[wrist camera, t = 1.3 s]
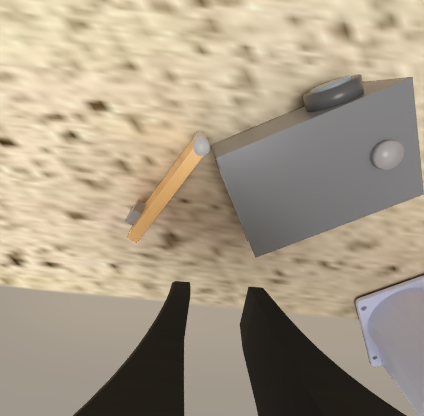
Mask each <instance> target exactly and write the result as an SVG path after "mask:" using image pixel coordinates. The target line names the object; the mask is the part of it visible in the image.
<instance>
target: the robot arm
mask: <svg viewBox="0 0 424 416" xmlns="http://www.w3.org/2000/svg"><path fill="white" fill-rule="evenodd" d="M189 300H190V282H179V281H175V282H173V283H172V286H171V289H170V292H169V295H168V297H167V299H166V301H165V303H164V306H163V307H162V309H161V311H160V313H159V314H158V316H157V318H156V320H155V321H154V323H153V324H152V326H151V327H150V329H149V331H148V332H147V334H146V335H145V337H144V338H143V339H142V341H141V342H140V343H139V345H138V346H137V347H136V349H135V350H134V351H133V353H132V354H131V355H130V356H129V358H128V359H127V360H126V361H125V363H124V364H123V365H122V366H121V367H120V368H119V370H118V371H117V372H116V373H115V374H114V375H113V376H112V377H111V378H110V380H109V381H108V382H107V383H106V384H105V385H104V386H103V387H102V388H101V389H100V390H99V391H98V392H97V393H96V394H95V395H94V396H93V397H92V398H91V399H90V400H89V401H88V402H87V403H86V404H85V405H84V406H83V407H82V408H81V409H80V410H79V411H78V412H76V413H75V414H74V415H73V416H184V336H185V328H186V321H187V314H188V307H189ZM355 304H356V308H357V312H358V316H359V320H360V324H361V329H362V332H363V337H364V341H365V345H366V349H367V353H368V357H369V361H370V364H371V365H372V366H373V367H378V366H381V365H383V366H384V368H385V369H386V370H387V372H388V373H389V375H390V376H391V377H392V379H393V380H394V382H395V383H396V384H397V386H398V387H399V388H400V390H401V391H402V393H403V394H404V396H405V397H406V398H407V400H408V401H409V403H410V404H411V405H412V407H413V408H414V410H415V411H416V412H417V414H418V415H419V416H424V275H423V276H420V277H417V278H414V279H412V280H409V281H406V282H403V283H400V284H397V285H395V286H392V287H389V288H386V289H383V290H380V291H378V292H375V293H372V294H369V295H366V296H363V297H360V298H358V299H357V300H356V302H355ZM240 329H241V338H242V347H243V352H244V356H245V361H246V365H247V369H248V373H249V377H250V382H251V386H252V390H253V394H254V398H255V403H256V407H257V411H258V416H406V415H404V414H403V413H401V412H400V411H398V410H397V409H395V408H394V407H392V406H391V405H390V404H388V403H386V402H385V401H384V400H382V399H381V398H379V397H378V396H376V395H375V394H374V393H372V392H371V391H369V390H368V389H367V388H365V387H364V386H363V385H362V384H360V383H359V382H358V381H356V380H355V379H354V378H352V377H351V376H350V375H348V374H347V373H346V372H345V371H344V370H342V369H341V368H340V367H338V366H337V365H336V364H335V363H334V362H333V361H332V360H331V359H329V358H328V357H327V356H326V355H325V354H324V353H323V352H322V351H320V350H319V349H318V348H317V347H316V346H315V345H314V344H313V343H312V342H311V341H310V340H309V339H308V338H307V337H306V336H305V335H304V334H303V333H302V332H301V331H300V330H299V329H298V328H297V327H296V326H295V324H294V323H293V322H292V321H291V320H290V319H289V318H288V317H287V316H286V314H285V313H284V312H283V311H282V310H281V309H280V307H279V306H278V305H277V304H276V303H275V302H274V300H273V299H272V298H271V297H270V296H269V295H268V293H267V292H266V291H265V290H264V289H263V288H257V287H249V288H248V292H247V296H246V300H245V305H244V309H243V313H242V318H241V322H240Z"/></svg>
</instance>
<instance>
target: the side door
mask: <svg viewBox="0 0 424 416" xmlns="http://www.w3.org/2000/svg"><path fill="white" fill-rule="evenodd" d="M209 151H210V145H209V143H208V140H207V137H206V135H205V133H204V132H202V131H198V132H196V133H195V134H194V136H193V139H192V141H191V142H190V143H189V145H188V146H187V147H186V149H185V150H184V151H183V153H182V154H181V156H180V157H179V158H178V160H177V161H176V162H175V164H174V165H173V166H172V168H171V169H170V170H169V172H168V173H167V174H166V176H165V177H164V179H163V180H162V181H161V183H160V184H159V185H158V187H157V188H156V189H155V191H154V192H153V193H152V195H151V196H150V197H149V199H148V200H147V202H146V203H143V202H142V201H140V200H138V201H137V202H136V204H135V205H134V207H133V208H132V209H131V211H130V213H129V214H128V216H127V218H126V220H125V221H126V222H128V223H129V224H131V225H132V227H131V229H130V231H129V234H128V236H127V238H129V239H131V240H132V241H134V242H136V243H137V242H138V241H139V239H140V238H141V237H142V235H143V234H144V233H145V231H146V230H147V229H148V228H149V226H150V225H151V224H152V222H153V221H154V220H155V218H156V217H157V216H158V214H159V213H160V212H161V211H162V209H163V208H164V207H165V205H166V204H167V203H168V201H169V200H170V199H171V198H172V196H173V195H174V194H175V192H176V191H177V190H178V188H179V187H180V186H181V184H182V183H183V182H184V181H185V179H186V178H187V177H188V175H189V174H190V173H191V171H192V170H193V169H194V168H195V166H196V165H197V164H198V162H199V161H200V160H201V158H202V157H203V156H205V155H207V154H208V153H209Z"/></svg>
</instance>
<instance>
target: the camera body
mask: <svg viewBox="0 0 424 416" xmlns="http://www.w3.org/2000/svg"><path fill="white" fill-rule="evenodd" d="M303 100H304V104H305V106H304V107H301V108H299V109H297V110H294V111H292V112H289V113H287V114H285V115H282V116H280V117H277V118H275V119H273V120H270V121H268V122H265V123H263V124H261V125H258V126H256V127H253V128H251V129H249V130H246V131H244V132H241V133H239V134H237V135H234V136H232V137H230V138H227V139H225V140H222V141H220V142H218V143H215V144H213V145H211V147H212V149H213V152H214V154H215V157H216V159H217V160H216V163H217V166H218V168H219V171H220V173H221V176H222V178H223V181H224V183H225V186H226V188H227V191H228V193H229V196H230V198H231V201H232V203H233V206H234V208H235V211H236V213H237V216H238V218H239V221H240V223H241V226H242V228H243V231H244V233H245V236H246V238H247V241H248V240H249V242H250V245H251V247H252V250H253V252H254V255H255V257H259V256H261V255H264V254H266V253H269V252H272V251H274V250H277V249H280V248H282V247H285V246H288V245H290V244H293V243H296V242H298V241H301V240H304V239H306V238H309V237H312V236H314V235H317V234H320V233H322V232H325V231H328V230H330V229H333V228H336V227H338V226H341V225H344V224H346V223H349V222H352V221H354V220H357V219H360V218H362V217H365V216H367V215H370V214H373V213H375V212H378V211H381V210H383V209H386V208H389V207H391V206H394V205H397V204H399V203H402V202H405V201H407V200H410V199H413V198H415V197H418V196H421V195H423V194H424V191H423V181H422V171H421V160H420V150H419V140H418V129H417V119H416V109H415V98H414V88H413V78H412V77H407V78H397V79H387V80H377V81H367V82H362V77H361V75H354V76H345V77H341V78H338V79H335V80H332V81H329V82H326V83H324V84H321V85H319V86H317V87H315V88H313V89H312V90H311V91H309V92H308V93H306V94H304V95H303Z"/></svg>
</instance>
